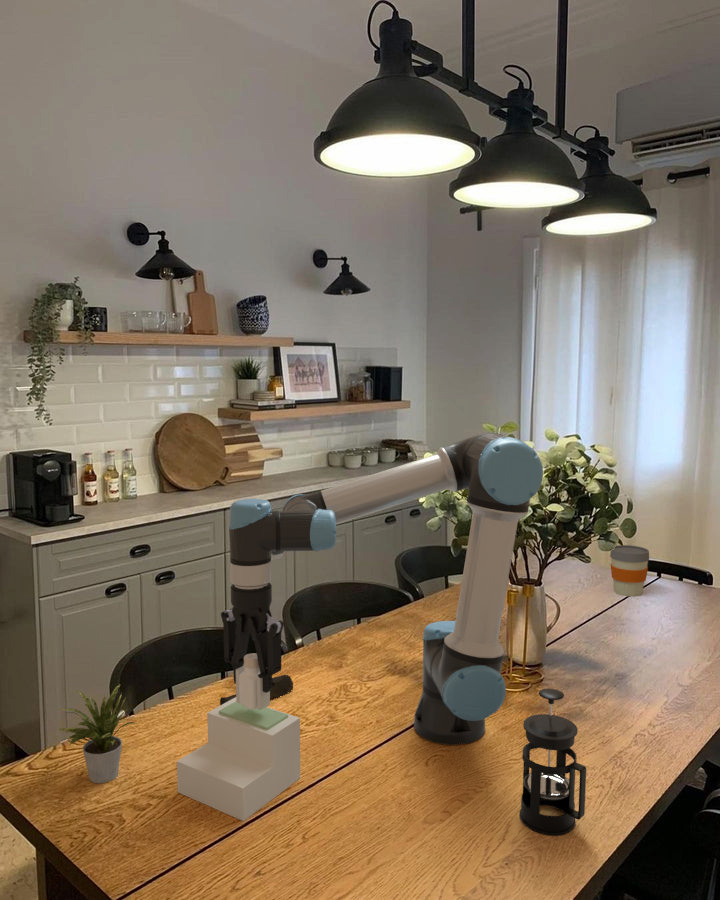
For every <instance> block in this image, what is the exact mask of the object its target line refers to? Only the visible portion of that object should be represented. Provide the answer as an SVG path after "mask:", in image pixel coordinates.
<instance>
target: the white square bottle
mask: <svg viewBox="0 0 720 900" xmlns="http://www.w3.org/2000/svg"><path fill="white" fill-rule="evenodd" d="M243 666H244V670H245V671H243V672H241V673H240V675H239V702H240V704H241V705H243V706H244V707H246V708H248V709H250V710H253V709H255V708H257V675H259V674H260V669H259V663H258V658H257V653H253V652H252V653H246V655H245V656H244V664H243Z"/></svg>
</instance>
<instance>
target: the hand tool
mask: <svg viewBox="0 0 720 900" xmlns="http://www.w3.org/2000/svg"><path fill="white" fill-rule="evenodd" d="M293 689H294V681H293V680H292V678H291V676H290V675H289V674H283V675H279V676H274V677H272V690H271V691H270V699H274V698H277V699H279V698H278V697H280V696H282V697H284V696H286V695H288V694H289V693H291V692H292V691H293ZM291 690H292V691H291ZM288 692H289V693H288ZM285 694H286V695H285ZM283 695H284V696H283ZM235 697H236V693H235V694H232V695H230V696H226V697H225V696H223V697H221V696H220V698H219V704H220V705H219V706H221V705H222V704H224V703H226V702H228V701H230V700H232V699H233V698H235ZM280 698H281V697H280Z"/></svg>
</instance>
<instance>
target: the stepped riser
mask: <svg viewBox="0 0 720 900" xmlns="http://www.w3.org/2000/svg"><path fill="white" fill-rule="evenodd" d="M206 716H207V717H206V719H207V743H205V744H203V745H202V746H200V747H198V748H196V749H195V750H193V751H192V752H190V753H188V754H187V755H185V756H183V757H181V758H180V759H178V760H177V761H176V778H177V780H176V781H177V783H176V784H177V793H179V794H181V795H183V796H184V797H185V796H186V797H188V798H190V799H192V800H194V801H197V802H198V803H200V804H203V805H206V806H208V807H210V808H212V809H216V810H217V811H219V812H222V813H224V814H226V815H229V816H231V817H234V818H235V819H238V820H240V821H242V822H245V821H246V820H247V819H249V818H250V817H251V816H252V815H254V814H255V813H256V812H258V811H259V810H260V809H262V808H263V807H264V806H266V805H267V804H268V803H270V802H271V801H273V799H275V798H276V797H277V796H279V795H280V794H282V793H283V792H285V790H287V789H288V788H289V787H290V786H292V785H294V784H295V783H296V782H297V781H298V780H300V779H301V718H300V717H298V716H295V715H292V714H289V713H286V712H285V711H284V712H283V711H280V710H277V709H274V708H271V707H269V706H267V707H265V708H264V709H262V710H258V709H257V708H255V709H253V710H250V709H248V708H246V707H244V706H243V705H241V704H240V703H237V702H236V697H235V698H233V699H232V700H230V701H228V702H226V703H224V704H222V705H221V706H220V705H219V706H217V707H215V708H214V709H212V710H210V711H208V712H207V714H206Z"/></svg>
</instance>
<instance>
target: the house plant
mask: <svg viewBox="0 0 720 900" xmlns="http://www.w3.org/2000/svg"><path fill="white" fill-rule="evenodd" d="M120 686H121V684H120V683H118V685H116V686H115V688H114V689H113V691H112V692H111V694H110V696H109V697H108V699H107V701H106V696H104V697H103V698H102V702H101V706H100V712H99V709H98V705H97V702H96V700H95V699H93V697H92V696H86V695H85V694H84V693H82V692H80V691H77V693H78V694H79V695H80V696H81V697H82V698H83V700H84V701H85V703H84V706H86V707H87V708H88V711H89V713H90V714H91V716H92V718H93V720H92V719H91V718H90V717H89V716H87V715H86V714H85V713H83V712H82V711H80V710H79V709H75V708H60V709H56V710H59V711H60V710H61V711H67V712H66V714H69V713H70V714H75V715H77V716H79V719H81V720H82V721H81V722H78V724H77V726H83V727H84V726H86V727H87V728H83V727H65V728H59V729H58V731H59V730H60V731H64V732H66V733H70V734H71V733H72V735H70V737H69V738H67V741H69V740H70V742H69V744H68V748H69V747H70V746H71V745H73V744H74V743H76V742H78V741H79V740H82V739H84V740H86V741H87V742H85V744H84V745H83V746H82V751H83V756H84V760H85V764H86V770H87V773H88V778H89V781H91V782H92V783H95V784H105V782H106V783H108V782H112V781H114V780H115V779H116V778H117V777H118V775H119V767H120V760H121V755H122V748H123V747H122V746H123V740H122V739H121V738H120V737H118V736H115V735H116V733H117V732H118V731H119V730H120V729H122V728H124V727H125V726H127V725H130V724H135V725H136V723H135V722H134V721H128V722H126V723H124V724H123V725H120V726H119V728H118V729H117V730H116V731H115V729H116V728H117V726H118V725H119V723H120V722H119V721H120V718H122V716H123V715H124V714H125V712H127V711H128V710H129V709H130V707H129V708H127V709H126V710H124V711H123V712H122V713H121V714H120V712H121V710H122V708H123V707H124V706H123V705H124V703H125V701H126V699H127V696H125V697H124V699H123V701H122V702H121V704H120V701H121V698H122V696H123V695H122V692H121V693H120V695H119V697H118V698H117V701H116V703H115V699H116V696H117V694H118V692H119V688H120ZM91 702H92V703H91ZM114 703H115V706H114ZM92 704H93V705H92ZM119 705H120V706H119ZM113 706H114V708H113ZM93 707H94V708H93ZM117 709H118V710H117ZM79 714H80V715H79ZM73 719H77V717H75V718H73ZM111 780H112V781H111Z"/></svg>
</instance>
